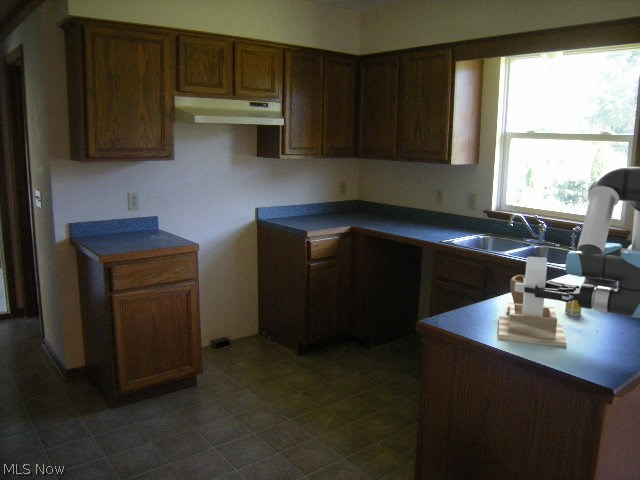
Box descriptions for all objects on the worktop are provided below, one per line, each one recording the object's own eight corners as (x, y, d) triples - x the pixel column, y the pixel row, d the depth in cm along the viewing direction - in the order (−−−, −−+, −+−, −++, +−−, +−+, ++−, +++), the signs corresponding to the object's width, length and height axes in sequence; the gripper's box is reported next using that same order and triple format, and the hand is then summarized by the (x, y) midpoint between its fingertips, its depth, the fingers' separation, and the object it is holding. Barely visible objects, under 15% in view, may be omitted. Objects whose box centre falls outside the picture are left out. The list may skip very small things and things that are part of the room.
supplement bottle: (563, 313, 201) (566, 288, 199) (566, 310, 205) (569, 285, 203) (579, 316, 197) (581, 291, 196) (582, 313, 202) (584, 288, 200)
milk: (521, 318, 183) (526, 254, 179) (540, 320, 181) (546, 256, 177) (522, 324, 177) (527, 258, 173) (541, 326, 175) (547, 259, 172)
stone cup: (502, 315, 197) (505, 275, 194) (511, 308, 207) (514, 269, 204) (545, 324, 189) (550, 282, 186) (553, 315, 198) (557, 276, 196)
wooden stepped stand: (498, 319, 192) (500, 299, 191) (560, 326, 186) (562, 305, 185) (498, 338, 174) (500, 316, 172) (566, 347, 168) (568, 324, 166)
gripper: (585, 317, 159) (507, 301, 173) (600, 302, 175) (528, 289, 189) (587, 292, 158) (509, 279, 171) (603, 279, 173) (530, 268, 187)
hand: (519, 284), depth 180 cm, fingers closed on milk, 7 cm apart
